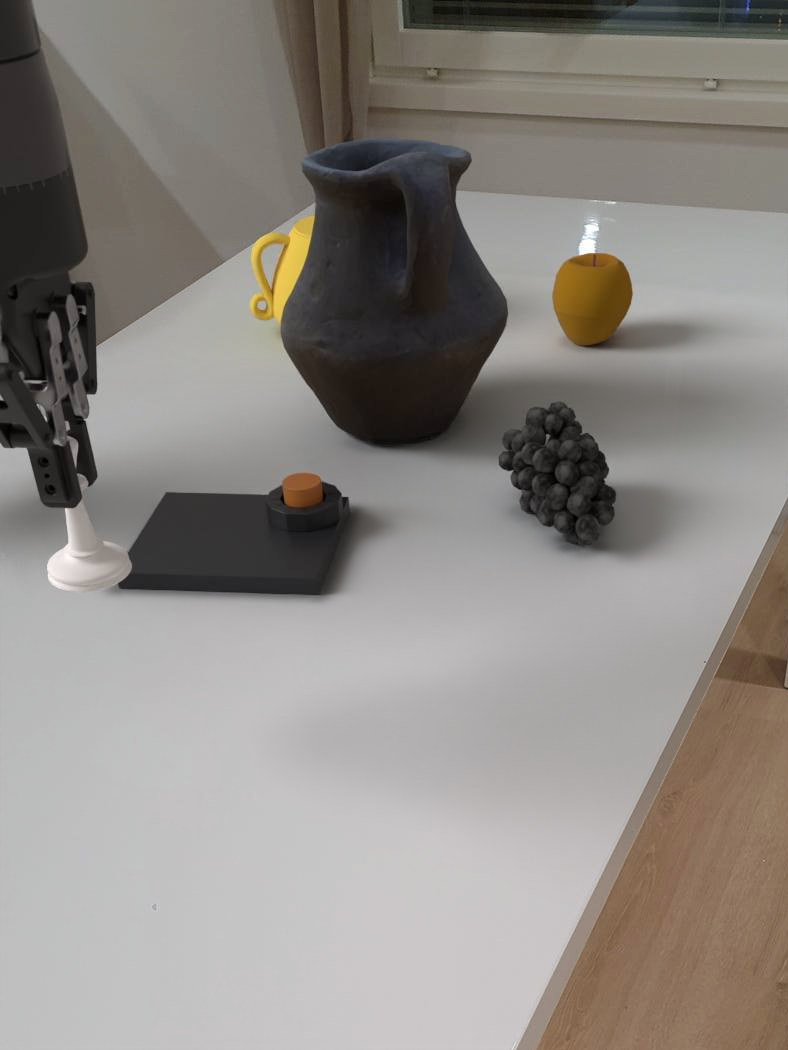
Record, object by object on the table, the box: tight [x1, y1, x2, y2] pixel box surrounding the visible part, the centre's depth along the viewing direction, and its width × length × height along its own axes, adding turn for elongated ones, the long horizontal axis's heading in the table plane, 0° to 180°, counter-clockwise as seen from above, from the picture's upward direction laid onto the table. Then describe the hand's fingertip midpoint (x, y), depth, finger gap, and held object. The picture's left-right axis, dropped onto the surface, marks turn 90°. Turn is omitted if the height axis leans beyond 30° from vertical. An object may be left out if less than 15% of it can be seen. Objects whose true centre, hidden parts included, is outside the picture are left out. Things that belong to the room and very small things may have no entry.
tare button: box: [281, 472, 323, 507], centre depth 105 cm, size 3×3×2 cm
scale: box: [117, 480, 351, 595], centre depth 105 cm, size 16×14×3 cm
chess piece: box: [44, 417, 132, 593], centre depth 74 cm, size 5×5×10 cm
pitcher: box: [280, 137, 509, 444], centre depth 115 cm, size 21×22×25 cm
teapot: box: [249, 214, 315, 327], centre depth 141 cm, size 20×19×13 cm
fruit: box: [497, 401, 617, 547], centre depth 105 cm, size 9×8×15 cm
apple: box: [551, 252, 634, 346], centre depth 136 cm, size 8×8×9 cm
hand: (70, 493), depth 74 cm, fingers closed on chess piece
